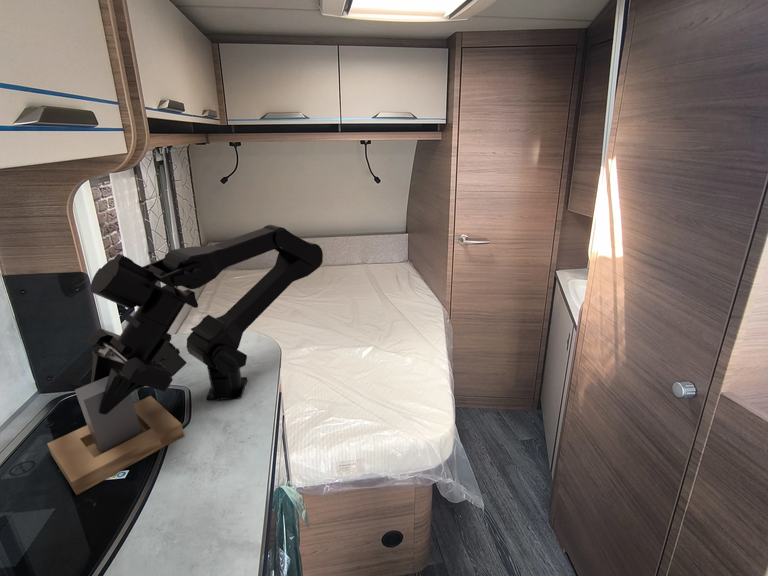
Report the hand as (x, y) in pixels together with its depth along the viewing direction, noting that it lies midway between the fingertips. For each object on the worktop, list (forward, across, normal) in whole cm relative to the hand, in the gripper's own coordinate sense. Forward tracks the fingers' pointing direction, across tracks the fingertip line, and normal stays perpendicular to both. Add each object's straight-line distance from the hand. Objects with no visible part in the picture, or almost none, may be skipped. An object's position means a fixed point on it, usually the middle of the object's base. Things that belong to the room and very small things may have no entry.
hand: (97, 407), depth 67 cm
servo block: (+4, 0, -6) cm, 7 cm away
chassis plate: (+5, 0, -7) cm, 9 cm away
